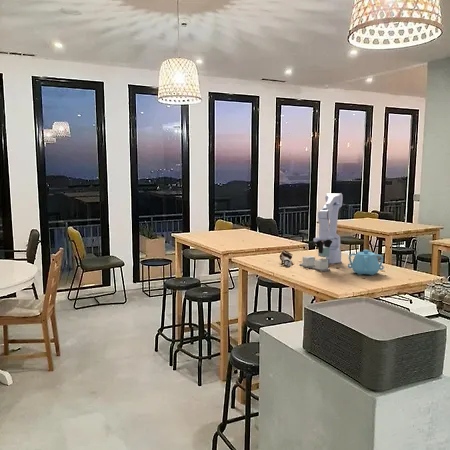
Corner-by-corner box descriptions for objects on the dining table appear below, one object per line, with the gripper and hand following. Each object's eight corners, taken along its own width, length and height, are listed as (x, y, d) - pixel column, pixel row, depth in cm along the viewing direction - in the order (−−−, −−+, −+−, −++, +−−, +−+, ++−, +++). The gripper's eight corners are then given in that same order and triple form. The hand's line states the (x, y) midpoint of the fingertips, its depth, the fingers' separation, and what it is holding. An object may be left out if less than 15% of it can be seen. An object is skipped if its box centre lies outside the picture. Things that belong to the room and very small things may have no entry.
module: (323, 255, 275) (323, 246, 274) (329, 256, 271) (329, 247, 270) (318, 256, 273) (318, 246, 272) (324, 257, 269) (324, 247, 268)
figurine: (284, 257, 276) (281, 247, 290) (277, 267, 279) (275, 257, 293) (296, 263, 278) (294, 254, 292) (289, 274, 280) (287, 264, 294)
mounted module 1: (310, 263, 282) (310, 255, 281) (315, 265, 278) (315, 256, 277) (302, 264, 279) (302, 256, 278) (307, 266, 275) (307, 257, 274)
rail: (305, 264, 284) (305, 262, 284) (330, 270, 265) (330, 269, 265) (299, 265, 282) (299, 263, 282) (323, 271, 263) (323, 270, 263)
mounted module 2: (322, 267, 272) (323, 258, 271) (328, 268, 268) (328, 259, 267) (315, 268, 269) (315, 259, 268) (320, 269, 265) (320, 261, 264)
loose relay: (322, 264, 285) (322, 258, 284) (329, 265, 281) (329, 259, 281) (318, 265, 281) (318, 259, 281) (325, 266, 278) (325, 260, 277)
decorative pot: (386, 275, 254) (387, 251, 252) (363, 277, 248) (363, 253, 247) (367, 269, 269) (368, 246, 268) (344, 271, 263) (345, 248, 262)
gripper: (319, 231, 263) (318, 254, 265) (337, 230, 270) (337, 252, 272) (311, 230, 269) (310, 253, 271) (329, 228, 277) (329, 250, 278)
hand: (323, 252), depth 272 cm, fingers closed on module, 4 cm apart
